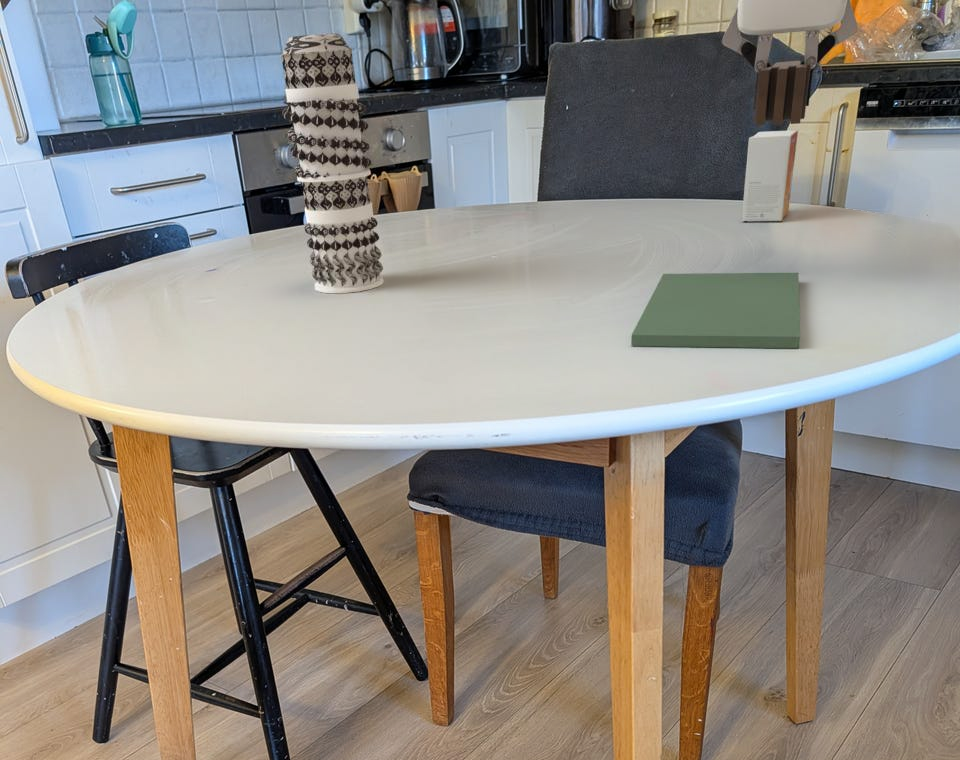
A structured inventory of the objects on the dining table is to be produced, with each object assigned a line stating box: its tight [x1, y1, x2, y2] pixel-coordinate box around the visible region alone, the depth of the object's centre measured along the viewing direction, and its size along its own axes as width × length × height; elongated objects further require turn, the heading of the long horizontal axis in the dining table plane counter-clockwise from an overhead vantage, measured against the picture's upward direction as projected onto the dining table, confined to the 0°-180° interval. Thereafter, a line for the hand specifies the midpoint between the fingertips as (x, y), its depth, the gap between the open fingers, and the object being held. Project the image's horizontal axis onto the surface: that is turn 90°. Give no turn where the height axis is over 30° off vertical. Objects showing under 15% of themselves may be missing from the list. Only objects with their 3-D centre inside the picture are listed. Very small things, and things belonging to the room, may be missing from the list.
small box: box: [741, 129, 799, 222], centre depth 122 cm, size 8×6×10 cm
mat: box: [630, 272, 801, 349], centre depth 84 cm, size 24×14×1 cm, turn 164°
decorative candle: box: [279, 33, 385, 294], centre depth 99 cm, size 9×9×25 cm
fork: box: [753, 60, 811, 127], centre depth 90 cm, size 21×5×4 cm, turn 163°
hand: (780, 114), depth 90 cm, fingers closed on fork, 2 cm apart
